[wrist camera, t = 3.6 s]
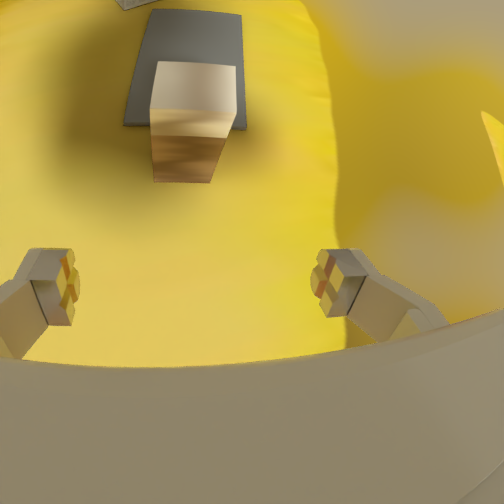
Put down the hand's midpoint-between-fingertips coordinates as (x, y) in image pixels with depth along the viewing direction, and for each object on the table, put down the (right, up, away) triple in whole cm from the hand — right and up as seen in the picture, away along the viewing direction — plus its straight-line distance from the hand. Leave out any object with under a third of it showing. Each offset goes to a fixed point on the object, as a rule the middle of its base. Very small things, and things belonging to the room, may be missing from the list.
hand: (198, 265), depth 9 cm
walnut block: (-5, +9, +17) cm, 19 cm away
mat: (-5, +22, +19) cm, 30 cm away
